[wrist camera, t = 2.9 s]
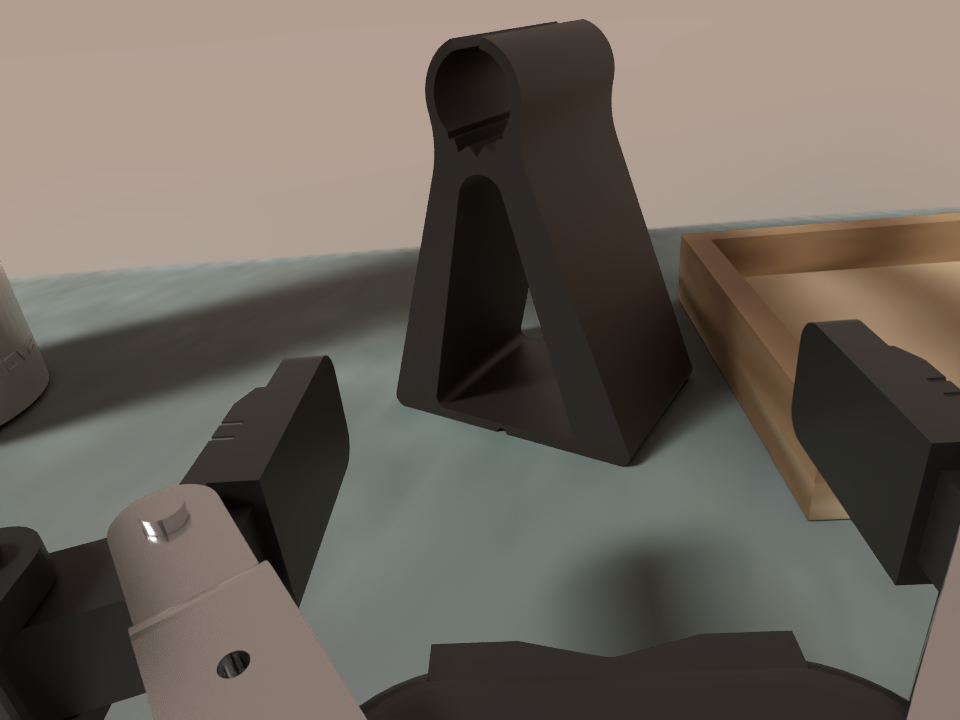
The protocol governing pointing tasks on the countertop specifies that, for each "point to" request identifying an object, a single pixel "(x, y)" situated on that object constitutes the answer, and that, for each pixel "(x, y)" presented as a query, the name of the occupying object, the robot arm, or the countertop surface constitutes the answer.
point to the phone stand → (537, 252)
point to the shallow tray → (818, 312)
